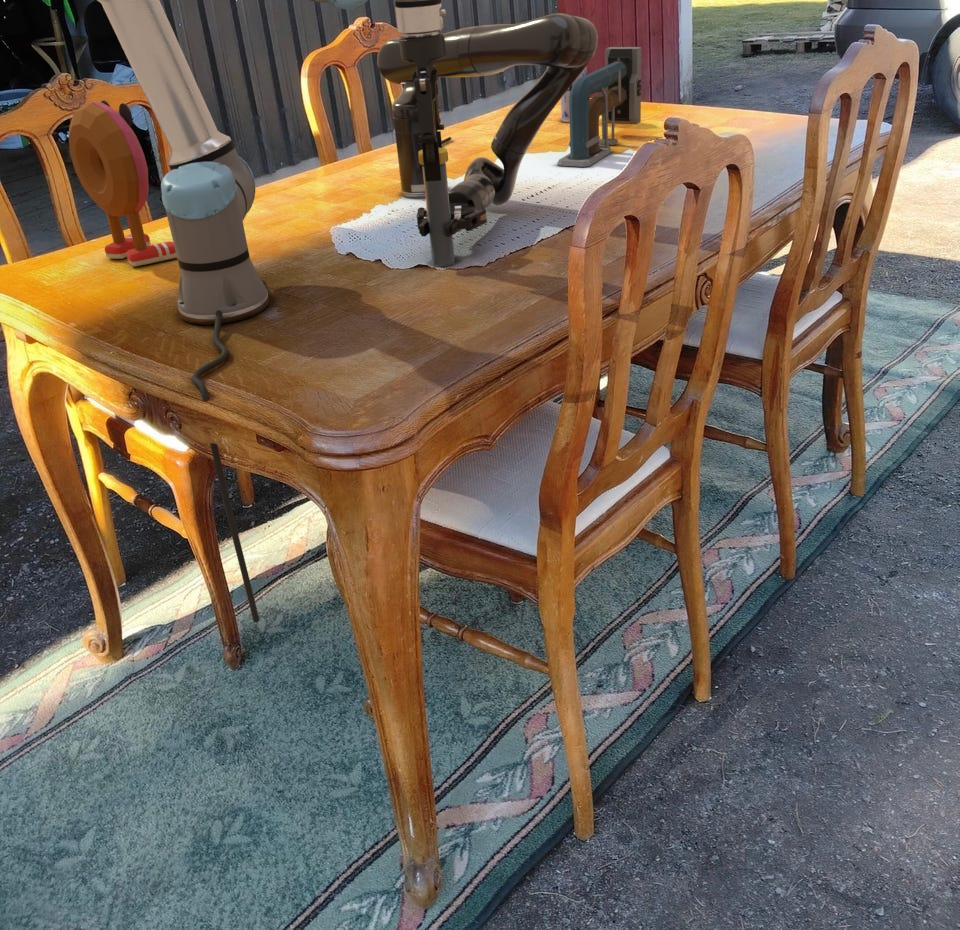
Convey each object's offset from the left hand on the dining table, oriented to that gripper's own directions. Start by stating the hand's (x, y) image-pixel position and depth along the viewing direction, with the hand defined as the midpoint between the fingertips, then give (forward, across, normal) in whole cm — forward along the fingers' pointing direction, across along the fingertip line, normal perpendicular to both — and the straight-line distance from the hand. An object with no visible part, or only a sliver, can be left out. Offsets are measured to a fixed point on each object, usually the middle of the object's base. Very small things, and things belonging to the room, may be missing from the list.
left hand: (435, 174), depth 170 cm
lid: (-4, 0, 0) cm, 4 cm away
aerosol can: (+16, +118, -31) cm, 123 cm away
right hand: (+9, -3, +1) cm, 10 cm away
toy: (+16, +15, +62) cm, 66 cm away
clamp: (+16, +80, -35) cm, 89 cm away
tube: (+16, 0, 0) cm, 16 cm away
